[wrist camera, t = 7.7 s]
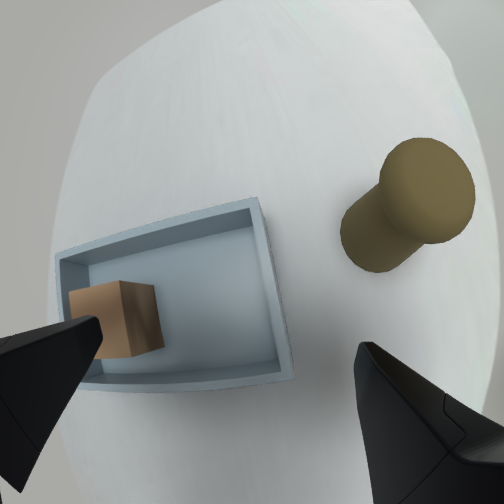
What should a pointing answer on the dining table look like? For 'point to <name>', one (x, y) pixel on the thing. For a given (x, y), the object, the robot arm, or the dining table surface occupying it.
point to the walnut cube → (121, 317)
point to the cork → (409, 205)
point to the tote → (191, 301)
